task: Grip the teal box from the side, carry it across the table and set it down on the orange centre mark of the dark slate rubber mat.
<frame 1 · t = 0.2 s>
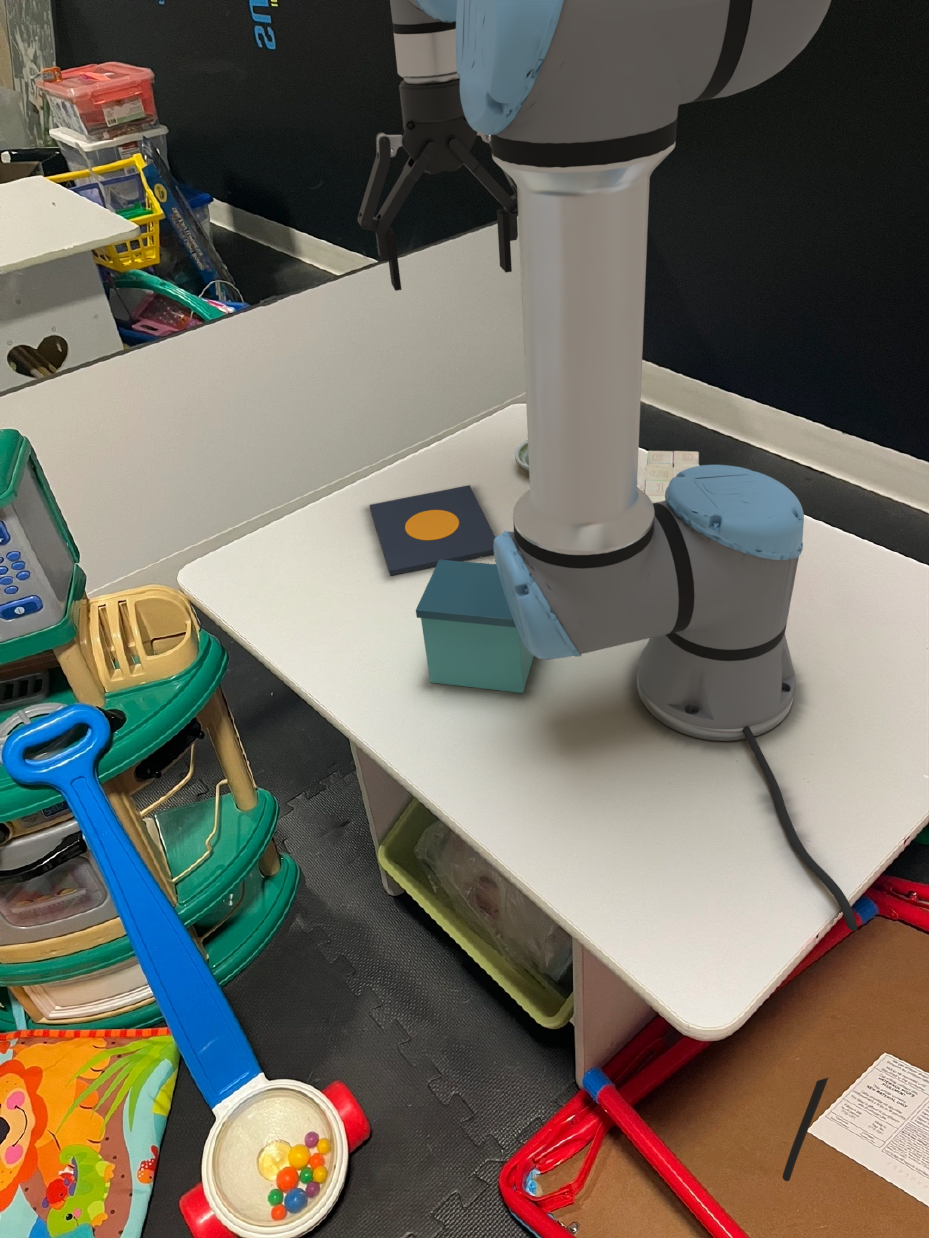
hand: (451, 278, 111), 28 cm above the table, tool pointing down, fingers open, 13 cm apart
saucer: (549, 467, 129), on the table
teal box: (484, 662, 98), on the table
stack of blocks: (666, 565, 109), on the table
mat: (432, 530, 119), on the table
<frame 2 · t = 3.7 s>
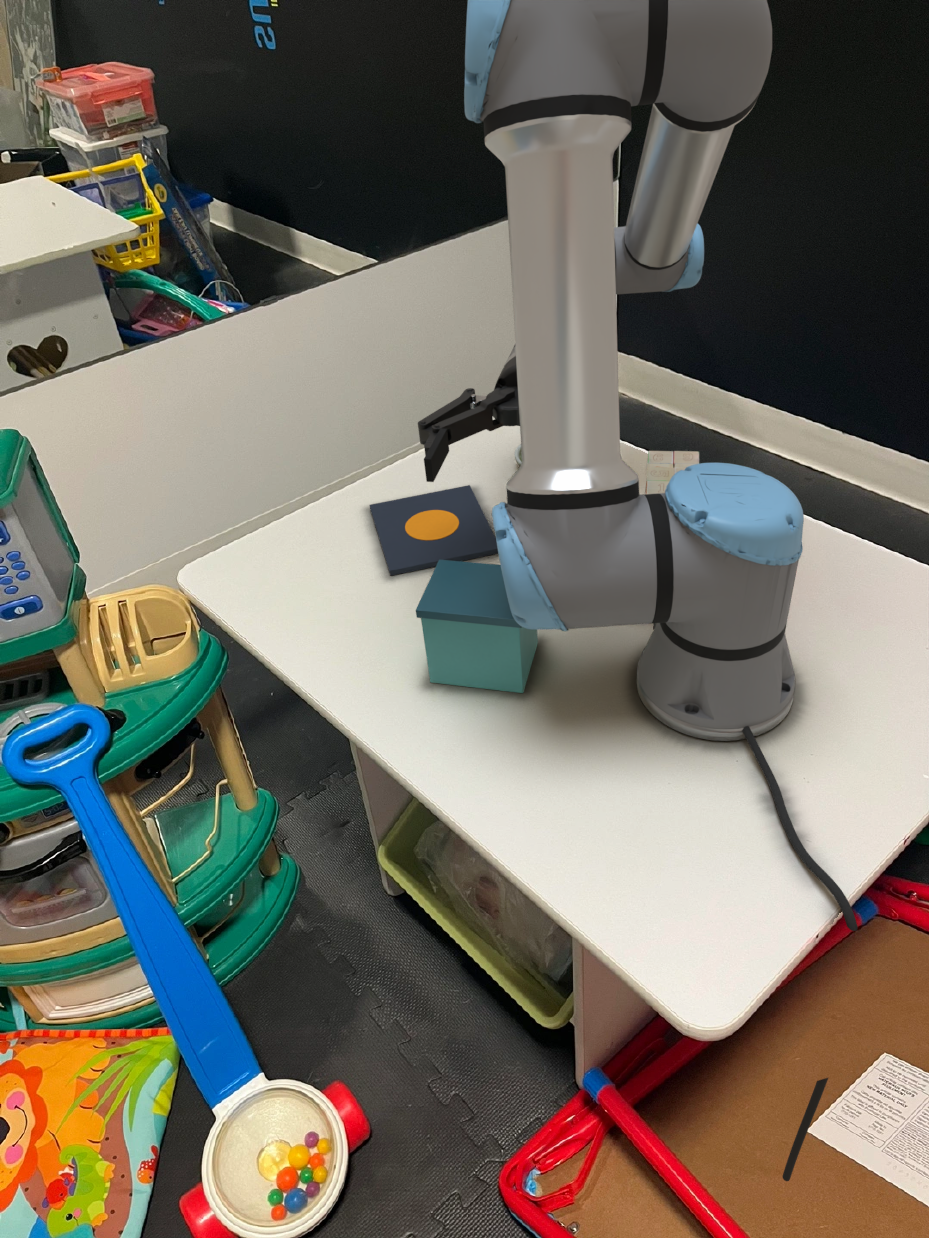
hand: (492, 474, 93), 18 cm above the table, tool horizontal, fingers open, 13 cm apart
nothing on the table moved.
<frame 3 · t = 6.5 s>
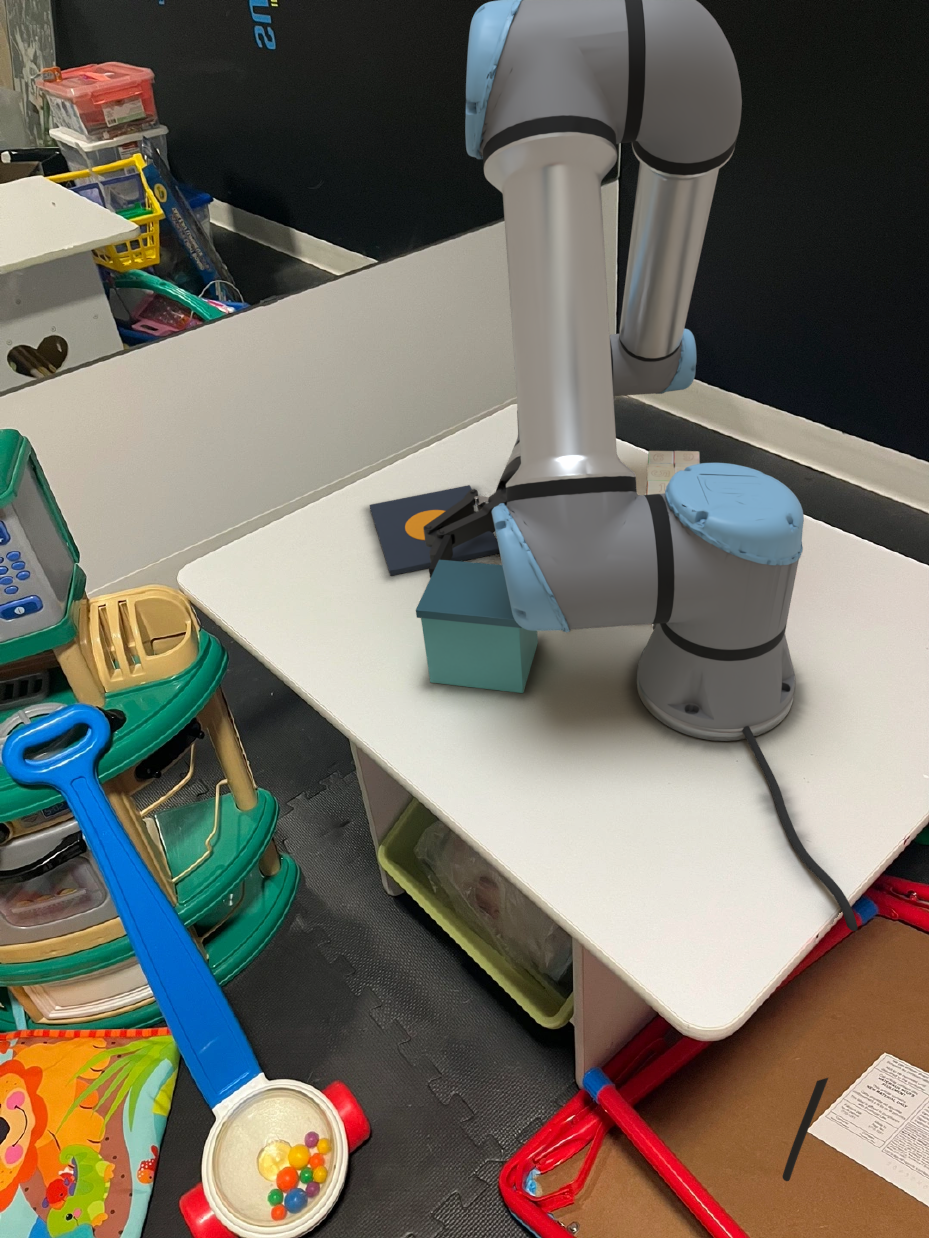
hand: (493, 585, 99), 6 cm above the table, tool horizontal, fingers open, 13 cm apart
saucer: (549, 466, 129), on the table, touching arm
everything else where it was.
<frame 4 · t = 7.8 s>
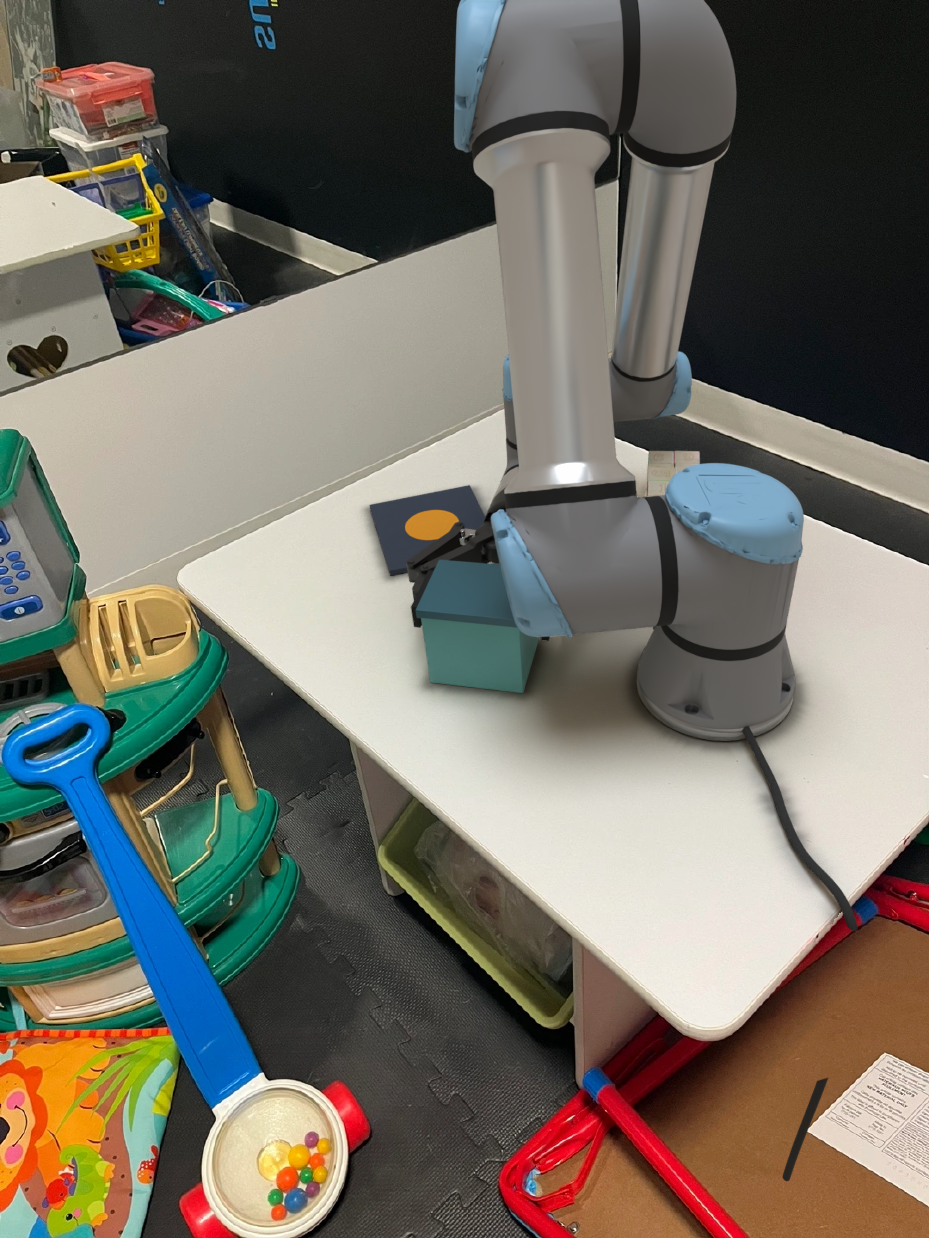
hand: (478, 624, 94), 6 cm above the table, tool horizontal, fingers open, 13 cm apart
saucer: (548, 468, 129), on the table
everything else where it was.
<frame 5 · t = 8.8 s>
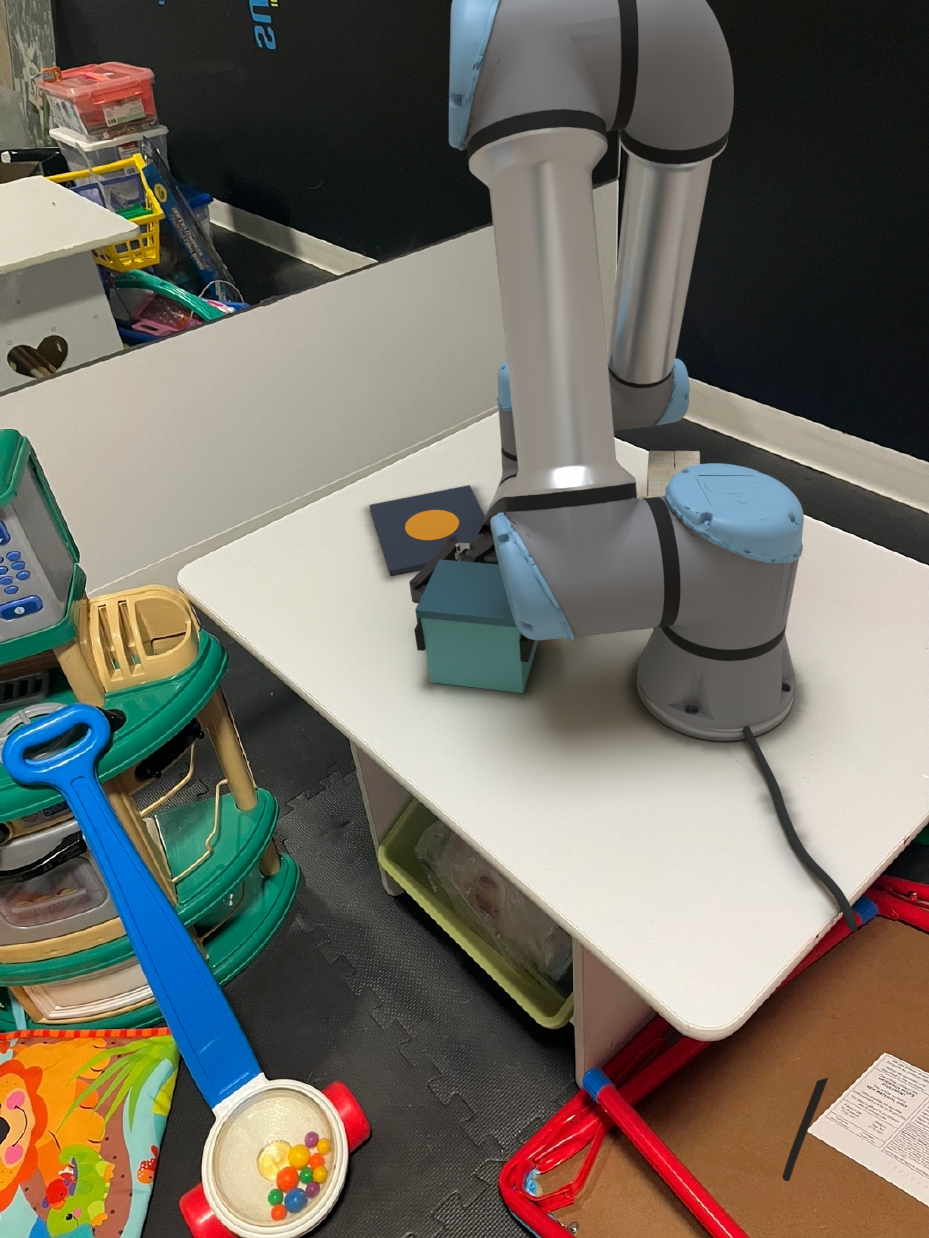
hand: (470, 646, 91), 6 cm above the table, tool horizontal, fingers closed on teal box, 10 cm apart
teal box: (484, 662, 98), on the table, touching gripper
everything else where it was.
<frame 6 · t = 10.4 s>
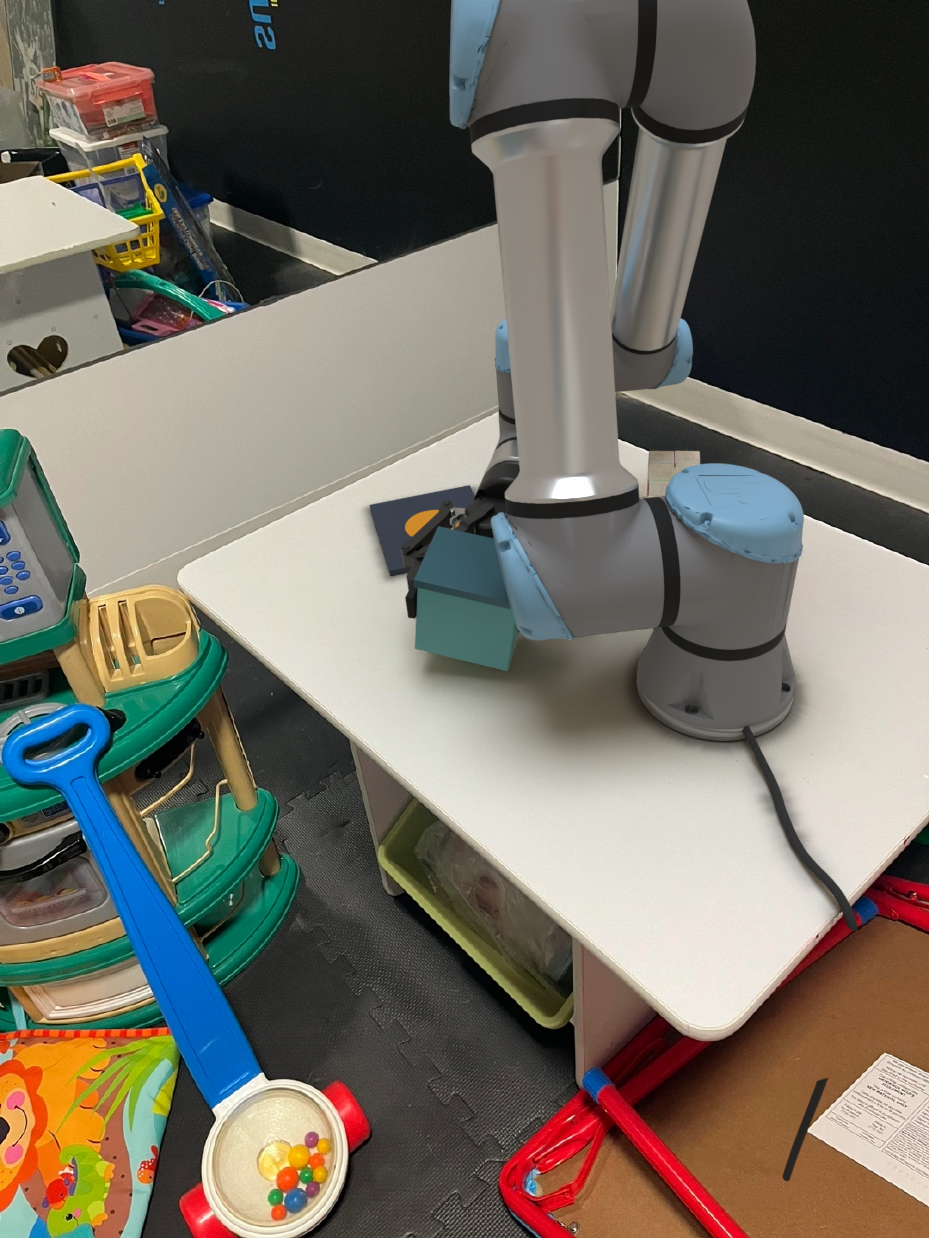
hand: (464, 615, 90), 9 cm above the table, tool horizontal, fingers closed on teal box, 10 cm apart
teal box: (470, 633, 97), point 3 cm above the table, tilted 11°, touching arm, gripper
everything else where it was.
when the fingers open (8 cm above the table, at t = 18.0 s): teal box stays where it is, resting on mat.
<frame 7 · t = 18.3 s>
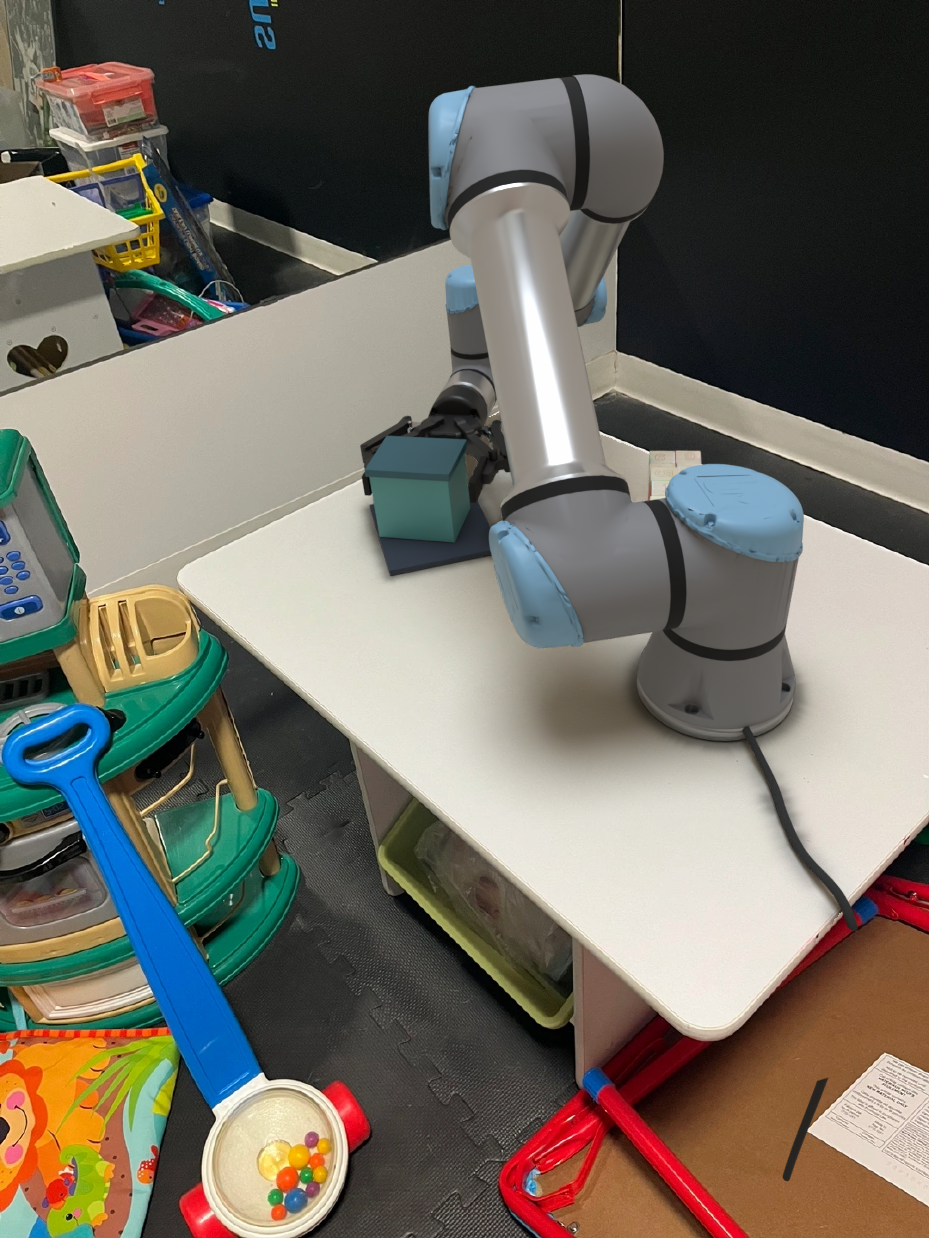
hand: (418, 489, 111), 8 cm above the table, tool horizontal, fingers open, 13 cm apart
teal box: (425, 522, 119), point 1 cm above the table, touching mat
everything else where it was.
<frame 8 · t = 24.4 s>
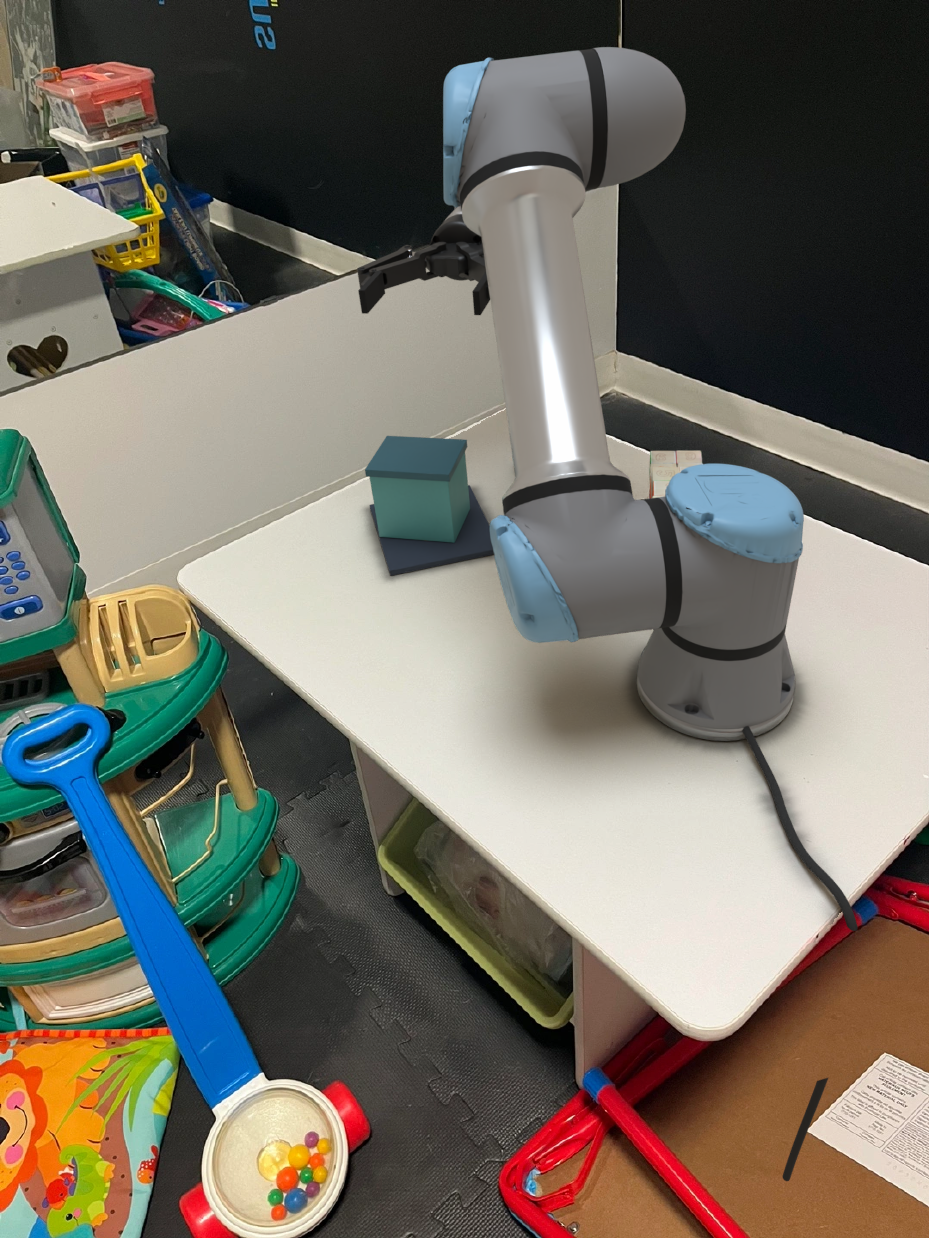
hand: (418, 303, 105), 28 cm above the table, tool horizontal, fingers open, 13 cm apart
nothing on the table moved.
at the end: teal box 1.0 cm off-centre on the mat, point 0.9 cm above the mat's base; teal box tilted 0°; the gripper is holding nothing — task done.
